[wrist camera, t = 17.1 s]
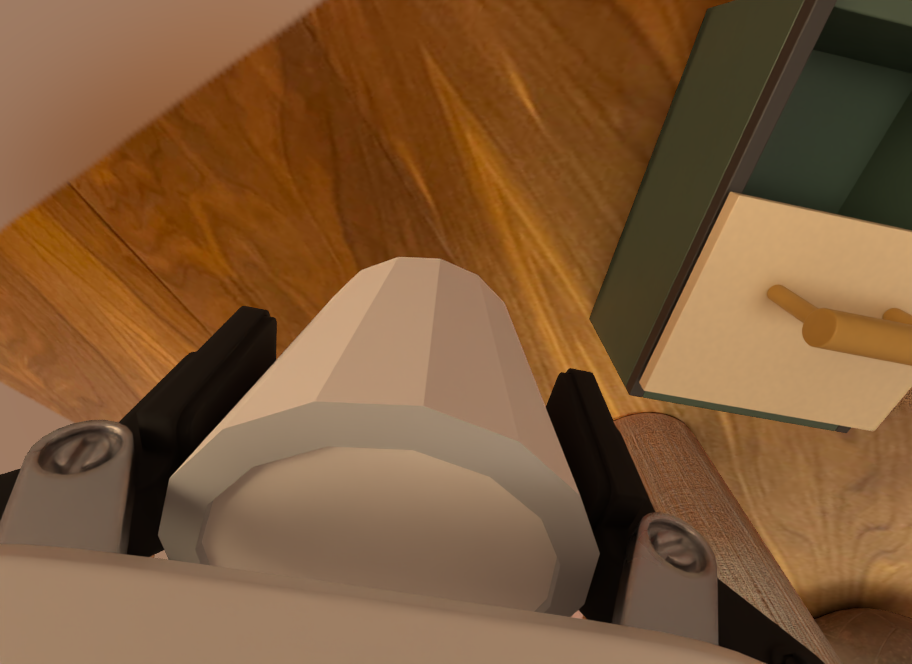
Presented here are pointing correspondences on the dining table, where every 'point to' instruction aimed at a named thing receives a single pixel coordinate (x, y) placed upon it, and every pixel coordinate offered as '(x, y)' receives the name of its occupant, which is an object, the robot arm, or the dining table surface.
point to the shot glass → (394, 455)
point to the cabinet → (763, 151)
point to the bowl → (868, 636)
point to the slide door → (793, 316)
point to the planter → (717, 521)
